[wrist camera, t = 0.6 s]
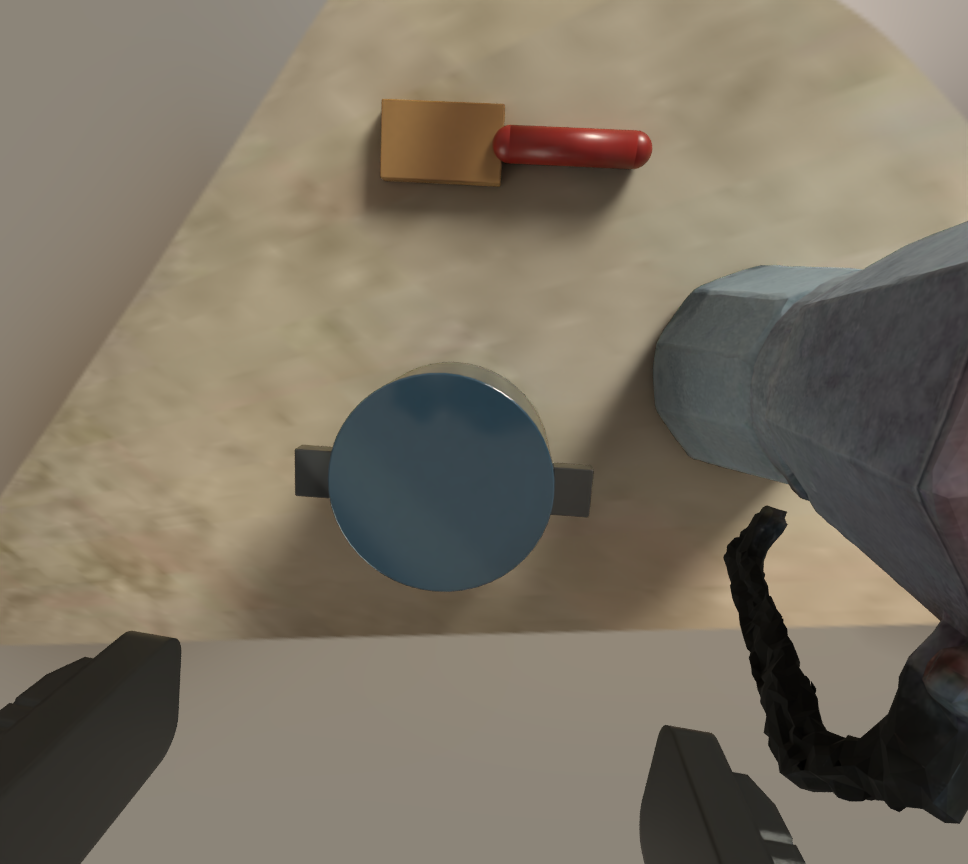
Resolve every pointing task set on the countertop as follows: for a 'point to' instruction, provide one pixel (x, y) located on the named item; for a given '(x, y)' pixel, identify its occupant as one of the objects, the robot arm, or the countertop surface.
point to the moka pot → (845, 484)
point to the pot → (443, 478)
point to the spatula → (490, 144)
